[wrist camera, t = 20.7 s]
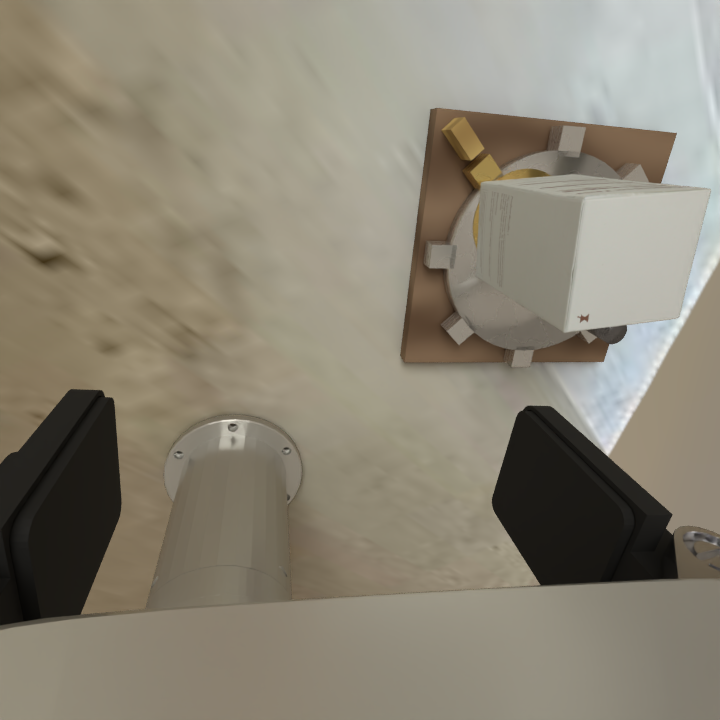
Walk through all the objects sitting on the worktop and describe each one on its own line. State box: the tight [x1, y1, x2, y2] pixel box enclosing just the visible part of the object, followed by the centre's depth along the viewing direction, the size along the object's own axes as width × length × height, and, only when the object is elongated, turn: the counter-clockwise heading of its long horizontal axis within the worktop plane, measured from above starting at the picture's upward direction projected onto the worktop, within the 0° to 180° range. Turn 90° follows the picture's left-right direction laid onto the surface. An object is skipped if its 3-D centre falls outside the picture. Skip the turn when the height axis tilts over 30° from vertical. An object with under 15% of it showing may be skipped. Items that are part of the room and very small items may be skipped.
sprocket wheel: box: [424, 125, 649, 367], centre depth 36 cm, size 19×19×6 cm
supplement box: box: [476, 174, 711, 333], centre depth 30 cm, size 7×7×13 cm
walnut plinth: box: [400, 108, 677, 362], centre depth 39 cm, size 20×20×4 cm
